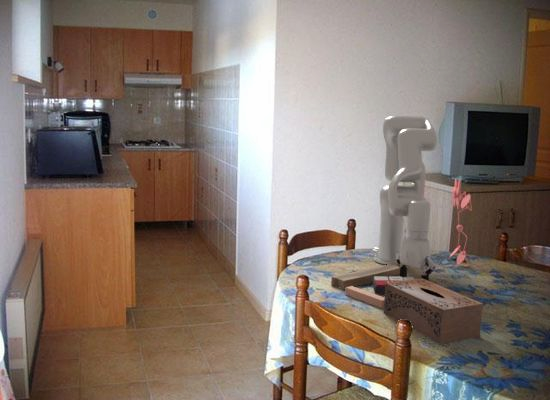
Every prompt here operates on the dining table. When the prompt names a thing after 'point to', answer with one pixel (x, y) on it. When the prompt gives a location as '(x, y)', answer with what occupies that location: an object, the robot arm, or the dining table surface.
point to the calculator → (381, 281)
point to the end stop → (365, 296)
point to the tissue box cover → (433, 310)
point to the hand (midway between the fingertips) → (413, 281)
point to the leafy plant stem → (464, 203)
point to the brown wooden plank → (364, 276)
